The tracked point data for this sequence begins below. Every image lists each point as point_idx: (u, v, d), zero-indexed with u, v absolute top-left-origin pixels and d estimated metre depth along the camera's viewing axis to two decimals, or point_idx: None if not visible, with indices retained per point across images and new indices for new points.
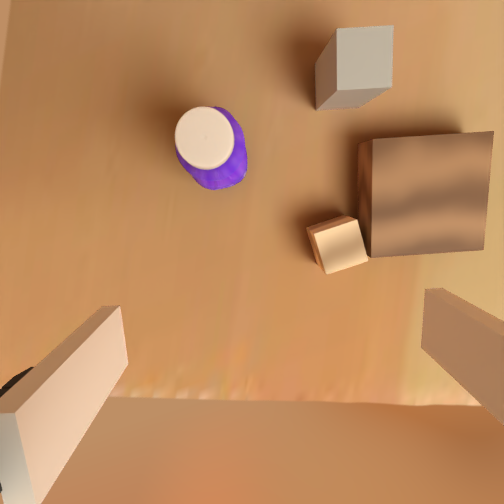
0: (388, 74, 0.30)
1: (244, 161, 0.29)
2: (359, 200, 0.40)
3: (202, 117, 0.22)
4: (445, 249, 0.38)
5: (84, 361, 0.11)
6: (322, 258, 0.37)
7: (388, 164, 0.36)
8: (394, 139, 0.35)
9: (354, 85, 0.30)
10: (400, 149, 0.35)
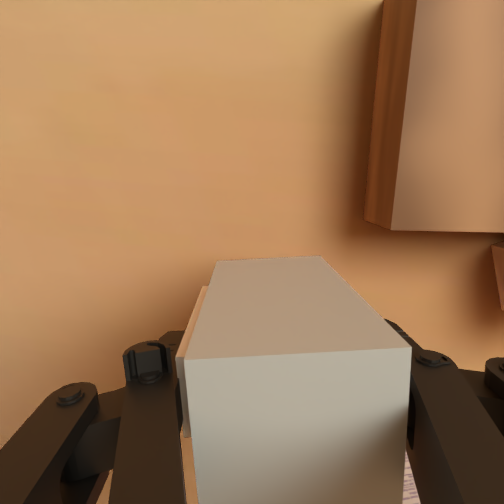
0: (362, 363, 0.07)
1: None
2: None
3: None
4: None
5: None
6: None
7: (445, 198, 0.17)
8: (399, 186, 0.17)
9: (389, 477, 0.08)
10: (420, 174, 0.17)
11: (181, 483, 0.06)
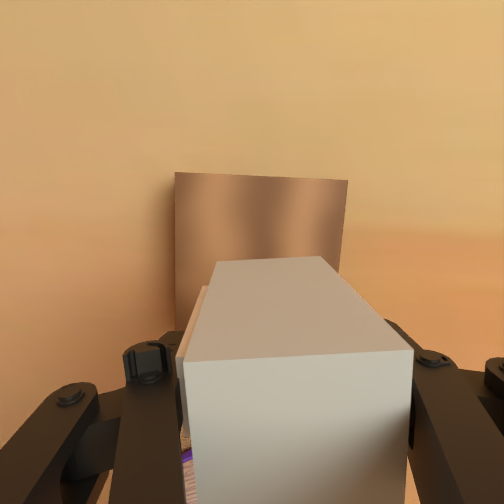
0: (364, 366, 0.07)
1: None
2: None
3: None
4: (337, 237, 0.26)
5: None
6: None
7: None
8: (177, 307, 0.27)
9: (391, 480, 0.08)
10: (190, 300, 0.27)
11: (181, 483, 0.06)
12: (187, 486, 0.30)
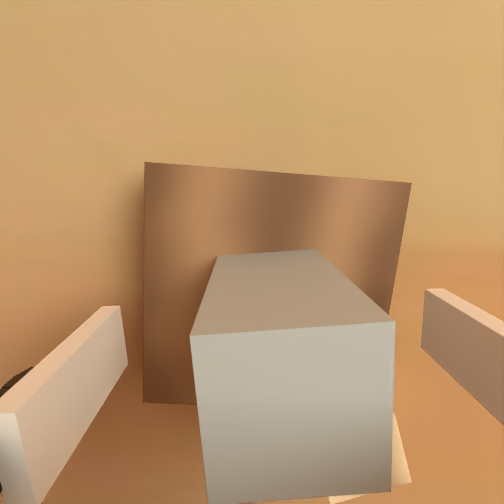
0: (351, 337, 0.08)
1: None
2: None
3: None
4: (389, 269, 0.17)
5: (84, 361, 0.11)
6: None
7: (193, 376, 0.18)
8: (146, 364, 0.18)
9: (378, 442, 0.09)
10: (166, 355, 0.18)
11: None
12: None
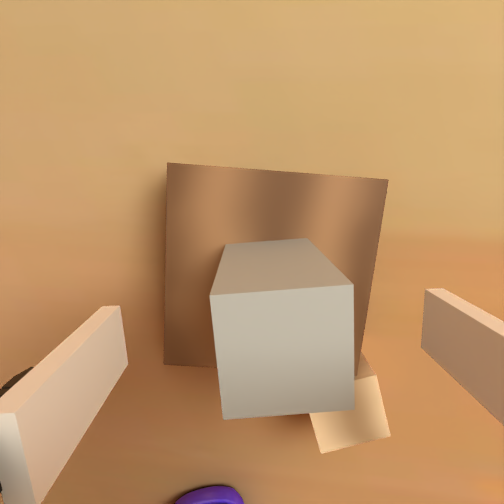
0: (323, 295, 0.12)
1: None
2: None
3: None
4: (370, 252, 0.20)
5: (84, 361, 0.11)
6: (362, 441, 0.23)
7: (205, 342, 0.22)
8: (167, 332, 0.21)
9: (344, 373, 0.12)
10: (183, 324, 0.21)
11: None
12: None
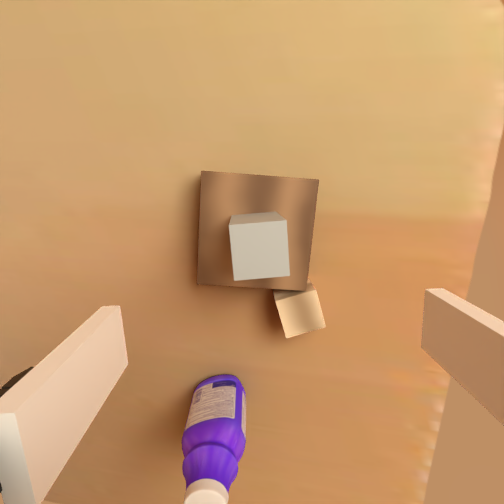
0: (274, 225, 0.29)
1: (223, 430, 0.36)
2: None
3: None
4: (311, 219, 0.38)
5: (84, 361, 0.11)
6: (309, 330, 0.40)
7: (220, 271, 0.39)
8: (199, 265, 0.38)
9: (284, 258, 0.29)
10: (208, 260, 0.38)
11: None
12: (205, 398, 0.42)
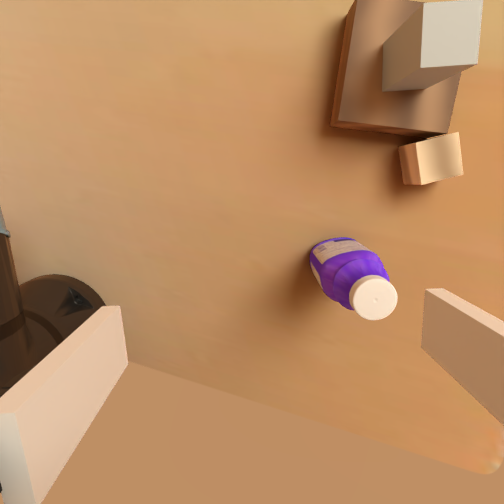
0: (470, 4, 0.28)
1: (369, 255, 0.36)
2: (381, 131, 0.43)
3: (360, 300, 0.30)
4: None
5: (84, 361, 0.11)
6: (446, 177, 0.40)
7: (363, 107, 0.38)
8: (343, 99, 0.38)
9: (475, 43, 0.29)
10: (352, 94, 0.38)
11: None
12: (332, 246, 0.41)
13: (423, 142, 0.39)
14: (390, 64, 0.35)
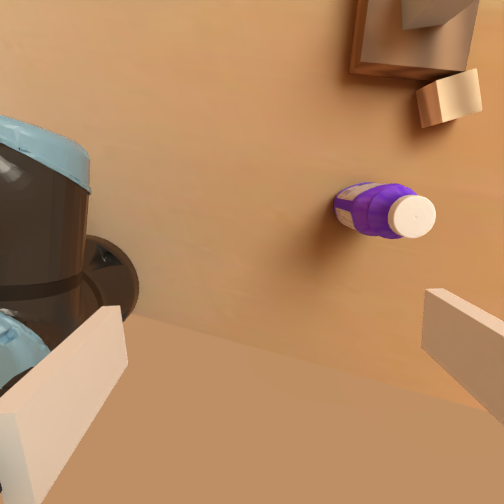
0: None
1: (399, 186, 0.37)
2: (399, 76, 0.44)
3: (401, 217, 0.31)
4: None
5: (84, 361, 0.11)
6: (466, 114, 0.41)
7: (384, 47, 0.39)
8: (364, 40, 0.39)
9: None
10: (374, 35, 0.39)
11: None
12: (358, 187, 0.42)
13: (443, 79, 0.40)
14: None
